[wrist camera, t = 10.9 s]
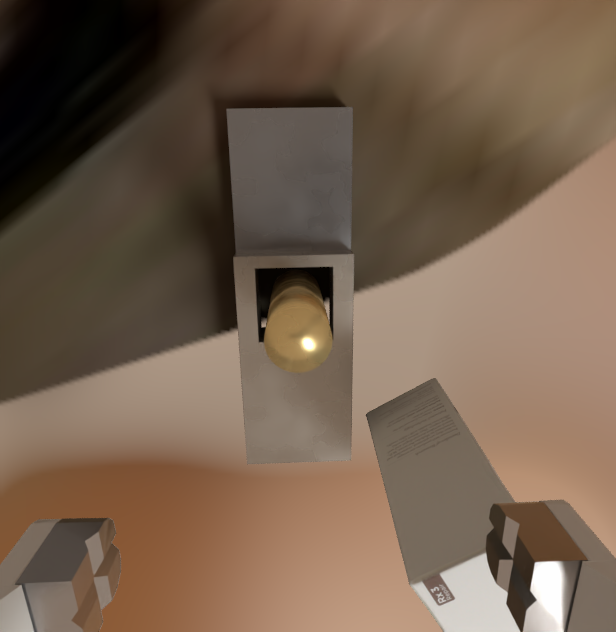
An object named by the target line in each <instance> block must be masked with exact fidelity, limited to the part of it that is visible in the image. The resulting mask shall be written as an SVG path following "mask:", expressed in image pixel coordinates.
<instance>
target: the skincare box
mask: <svg viewBox="0 0 616 632" xmlns="http://www.w3.org/2000/svg"><path fill="white" fill-rule="evenodd" d="M366 417H367V420H368V423H369V427H370V431H371V435H372V439H373V443H374V447H375V451H376V455H377V458H378V462H379V467H380V470H381V475H382V478H383V482H384V486H385V490H386V493H387V498H388V502H389V505H390V510H391V514H392V518H393V522H394V526H395V530H396V534H397V538H398V542H399V546H400V549H401V553H402V557H403V561H404V565H405V569H406V573H407V576H408V581H409V584H410V586H411V587H412V588H413V590H414V591H415V593H416V594H417V595H418V597H419V598H420V600H421V601H422V602H423V603H424V605H425V606H426V607H427V609H428V610H429V612H430V613H431V615H432V616H433V617H434V619H435V620H436V622H437V623H438V625H439V626H440V627H441V629H442V630H443V632H520V630H519V628H518V626H517V624H516V622H515V620H514V618H513V616H512V614H511V612H510V610H509V608H508V606H507V604H506V601H507V595H508V593H507V592H506V591H505V590H504V589H502V588H501V587H500V586H498V585H497V584H496V582H495V580H494V578H493V576H492V574H491V571H490V568H489V565H488V562H487V555H486V538H487V535H488V533H489V532H490V531H491V530H492V529H493V528H494V527H493V525H492V523H491V521H490V520H489V515H490V509H491V507H492V505H493V504H494V503H516V502H515V501H514V499H513V498H512V496H511V495H510V493H509V492H508V490H507V489H506V487H505V486H504V484H503V483H502V481H501V480H500V478H499V476H498V475H497V473H496V471H495V470H494V468H493V467H492V465H491V463H490V462H489V460H488V459H487V457H486V455H485V454H484V452H483V450H482V449H481V447H480V446H479V444H478V443H477V441H476V439H475V438H474V436H473V435H472V433H471V432H470V430H469V429H468V427H467V425H466V424H465V422H464V421H463V419H462V418H461V416H460V415H459V413H458V412H457V410H456V408H455V407H454V406H453V404H452V402H451V401H450V399H449V398H448V396H447V394H446V393H445V392H444V390H443V389H442V387H441V385H440V384H439V383H438V381H437V380H436V378H434V379H431V380H429V381H427V382H425V383H423V384H421V385H419V386H417V387H416V388H414V389H412V390H410V391H408V392H406V393H404V394H402V395H400V396H399V397H397V398H395V399H393V400H391V401H389V402H387V403H385V404H383V405H381V406H379V407H378V408H376V409H374V410H372V411H370V412H368V413H367V414H366Z"/></svg>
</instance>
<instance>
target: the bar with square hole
mask: <svg viewBox="0 0 616 632" xmlns="http://www.w3.org/2000/svg"><path fill="white" fill-rule="evenodd" d="M352 122H353V107H320V108H243V109H227V124H228V140H229V155H230V170H231V185H232V200H233V216H234V231H235V246H236V254H235V255H234V256H233V263H234V277H235V292H236V307H237V321H238V335H239V351H240V364H241V379H242V395H243V409H244V424H245V438H246V453H247V464H264V463H290V462H317V461H343V460H351V428H352V426H351V425H352V359H353V357H352V356H353V291H354V254H353V252H352V251H351V203H352ZM294 267H329V277H330V329H331V333H332V340H333V341H332V348H331V351H330V353H329V355H328V357H327V358H326V360H325V361H324V362H323V363H322V364H321V365H320V366H318V367H317V368H315V369H313V370H310V371H307V372H302V373H294V372H289V371H285V370H283V369H281V368H279V367H278V366H276V365H275V364H274V363H273V362H272V361H271V360H270V358H269V357H268V355H267V353H266V350H265V347H264V335H265V329H266V327H262V328H261V309H260V289H259V270H258V268H294Z"/></svg>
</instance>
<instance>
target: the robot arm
mask: <svg viewBox="0 0 616 632" xmlns="http://www.w3.org/2000/svg"><path fill="white" fill-rule="evenodd" d="M489 520H490V521H491V523H492V525H493V527H494V528H493V529H492V530H491V531H490V532H489V533H488V535H487V538H486V555H487V562H488V565H489V568H490V571H491V574H492V576H493V578H494V580H495V582H496V584H497V585H498V586H500V587H501V588H502V589H504V590H505V591H506V592H507V593H508V595H507V601H506V604H507V606H508V608H509V610H510V612H511V614H512V616H513V618H514V620H515V622H516V624H517V626H518V628H519V630H520V632H616V558H615V557H614V556H613V555H612V554H611V552H610V551H609V550H608V549H607V548H606V547H605V546H604V544H603V543H602V542H601V541H600V540H599V538H598V537H597V536H596V535H595V534H594V532H593V531H592V530H591V529H590V528H589V527H588V526H587V524H586V523H585V522H584V521H583V520H582V519H581V517H580V516H579V515H578V514H577V512H576V511H575V510H574V509H573V508H572V507H571V505H570V504H569V503H567V502H566V501H564V500H548V501H539V502H518V503H517V502H516V503H494V504H493V505H492V507H491V509H490V515H489ZM115 534H116V530H115V526H114V522H113V520H111V519H110V518H82V519H81V518H77V519H39V520H37V521H35V522H34V523H32V524H31V525H30V526H29V528H28V529H27V531H26V532H25V533H24V534H23V536H22V537H21V538H20V539H19V541H18V542H17V544H16V545H15V546H14V548H13V549H12V550H11V552H10V553H9V554H8V556H7V557H6V558H5V560H4V561H3V562H2V563H1V565H0V632H99V630H100V628H101V626H102V623H103V618H102V613H101V610H102V609H103V608H104V607H105V606H106V605H107V604H109V603H110V602H111V601H112V599H113V597H114V595H115V592H116V589H117V587H118V582H119V577H120V572H121V558H120V552H119V549H118V548H117V547H115V546H114V545H113V544H112V541H113V539H114V536H115Z"/></svg>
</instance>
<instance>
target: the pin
mask: <svg viewBox="0 0 616 632" xmlns="http://www.w3.org/2000/svg"><path fill="white" fill-rule="evenodd" d="M332 341H333V340H332V333H331V329H330V325H329V321H328V317H327V313H326V309H325V306H324V302H323V298H322V294H321V290H320V286H319V284H318V282H317V280H316V279H315V278H314V276H312V275H311V274H310V273H308V272H306V271H303V270H299V269H294V270H289V271H286V272H284V273H283V274H281V275H280V276H279V277H278V278H277V279H276V281H275V282H274V285H273V288H272V294H271V300H270V306H269V312H268V317H267V323H266V329H265V335H264V347H265V350H266V353H267V355H268V357H269V358H270V360H271V361H272V362H273V363H274V364H275V365H276V366H278V367H279V368H281V369H283V370H285V371H289V372H294V373H302V372H307V371H310V370H313V369H315V368H317V367H318V366H320V365H321V364H322V363H323V362H324V361H325V360H326V358H327V357H328V355H329V353H330V351H331V348H332Z"/></svg>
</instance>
